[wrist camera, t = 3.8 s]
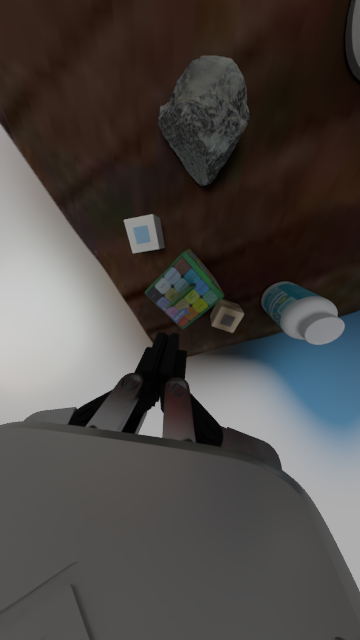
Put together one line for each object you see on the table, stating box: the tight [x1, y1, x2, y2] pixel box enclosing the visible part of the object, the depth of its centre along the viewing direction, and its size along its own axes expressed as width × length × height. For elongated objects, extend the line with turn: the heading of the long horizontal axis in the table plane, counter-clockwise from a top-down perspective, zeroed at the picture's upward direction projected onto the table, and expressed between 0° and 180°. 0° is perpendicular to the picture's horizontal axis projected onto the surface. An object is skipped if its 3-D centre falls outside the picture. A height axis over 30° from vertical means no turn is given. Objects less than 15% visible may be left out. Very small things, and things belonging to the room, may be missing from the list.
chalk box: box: [145, 248, 224, 329], centre depth 25 cm, size 9×9×15 cm
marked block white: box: [124, 214, 165, 253], centre depth 26 cm, size 5×5×5 cm
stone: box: [158, 56, 250, 186], centre depth 19 cm, size 10×10×10 cm
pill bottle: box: [261, 282, 345, 345], centre depth 26 cm, size 8×7×14 cm
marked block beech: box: [210, 299, 244, 333], centre depth 32 cm, size 5×5×5 cm
